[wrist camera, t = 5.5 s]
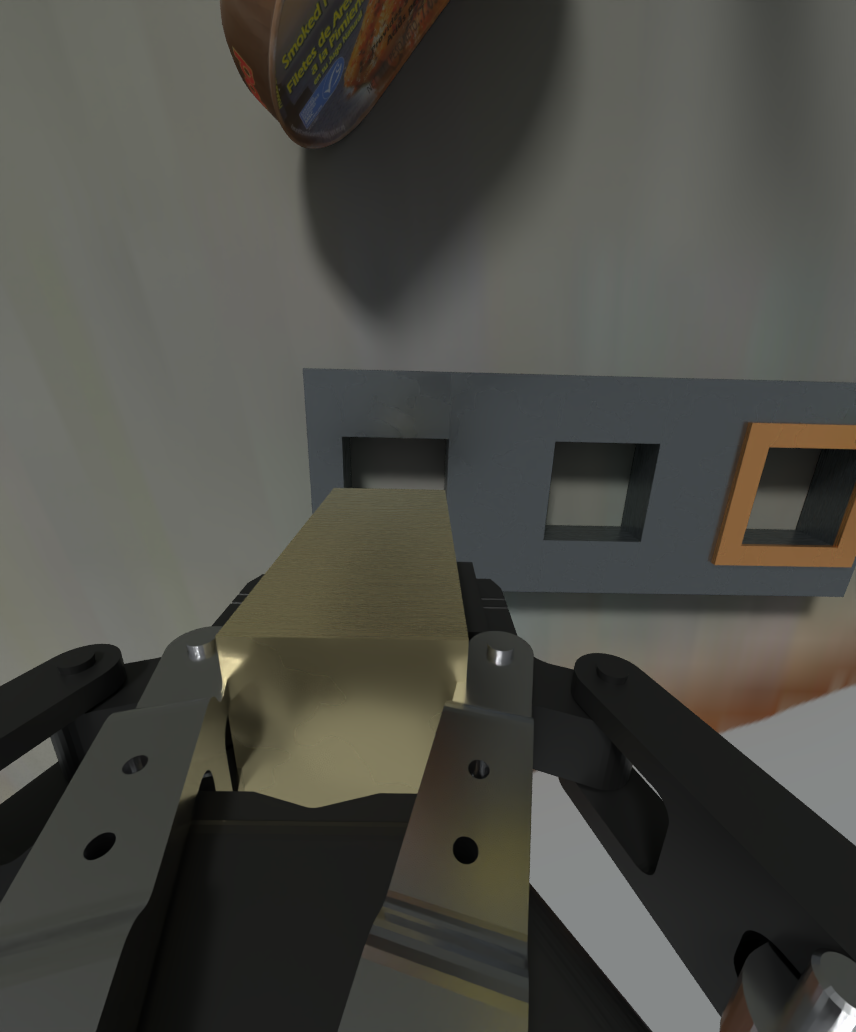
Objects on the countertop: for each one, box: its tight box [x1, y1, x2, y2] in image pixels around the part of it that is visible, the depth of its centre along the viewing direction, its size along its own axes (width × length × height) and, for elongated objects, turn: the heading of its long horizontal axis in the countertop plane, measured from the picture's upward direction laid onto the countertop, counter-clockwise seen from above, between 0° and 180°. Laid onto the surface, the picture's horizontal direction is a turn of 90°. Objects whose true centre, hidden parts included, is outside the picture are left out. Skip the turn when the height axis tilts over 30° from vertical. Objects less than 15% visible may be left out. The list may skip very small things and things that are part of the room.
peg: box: [215, 488, 469, 808], centre depth 12 cm, size 4×4×9 cm
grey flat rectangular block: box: [303, 368, 856, 597], centre depth 24 cm, size 31×12×3 cm, turn 89°
